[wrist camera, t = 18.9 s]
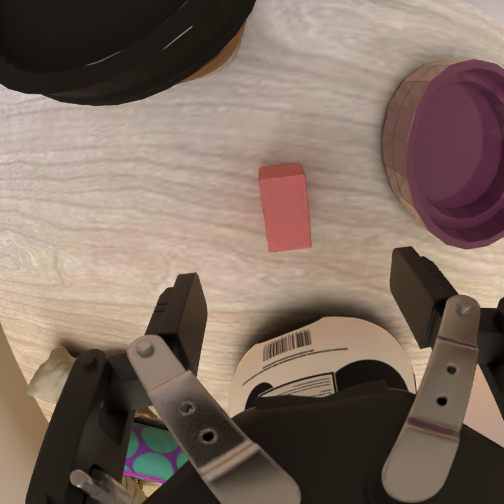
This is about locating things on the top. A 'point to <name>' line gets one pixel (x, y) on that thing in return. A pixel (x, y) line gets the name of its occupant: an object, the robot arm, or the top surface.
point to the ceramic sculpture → (61, 380)
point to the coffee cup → (115, 46)
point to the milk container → (319, 361)
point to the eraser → (285, 207)
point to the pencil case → (152, 454)
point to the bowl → (450, 150)
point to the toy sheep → (134, 489)
